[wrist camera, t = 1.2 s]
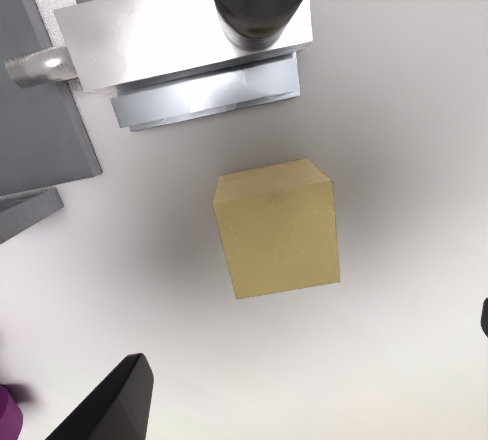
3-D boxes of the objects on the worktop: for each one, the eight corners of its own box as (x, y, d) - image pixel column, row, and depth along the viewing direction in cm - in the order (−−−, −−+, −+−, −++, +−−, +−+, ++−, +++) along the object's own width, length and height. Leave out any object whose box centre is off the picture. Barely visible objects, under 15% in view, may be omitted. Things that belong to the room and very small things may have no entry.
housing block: (308, 157, 16) (335, 179, 12) (317, 235, 18) (343, 281, 13) (219, 175, 16) (212, 203, 12) (237, 249, 18) (236, 299, 14)
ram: (292, -23, 12) (356, -174, 5) (299, 51, 13) (361, -1, 6) (22, 42, 13) (-210, -22, 6) (49, 106, 14) (-124, 111, 7)
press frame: (275, -118, 12) (306, -315, 6) (306, 158, 16) (341, 188, 11) (-241, 16, 13) (-589, -45, 8) (-85, 236, 18) (-234, 298, 12)
